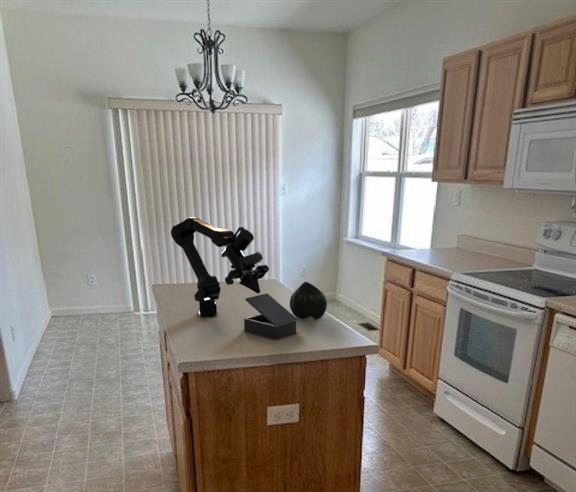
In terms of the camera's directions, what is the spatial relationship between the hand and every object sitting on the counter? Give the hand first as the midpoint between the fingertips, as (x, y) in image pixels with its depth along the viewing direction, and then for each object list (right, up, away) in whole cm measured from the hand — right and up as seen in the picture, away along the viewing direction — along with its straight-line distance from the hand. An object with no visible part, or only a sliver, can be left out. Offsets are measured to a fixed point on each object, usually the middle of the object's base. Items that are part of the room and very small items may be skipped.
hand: (259, 292), depth 196 cm
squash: (+19, -7, +22) cm, 30 cm away
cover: (+4, -7, -2) cm, 8 cm away
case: (+4, -14, +2) cm, 15 cm away
